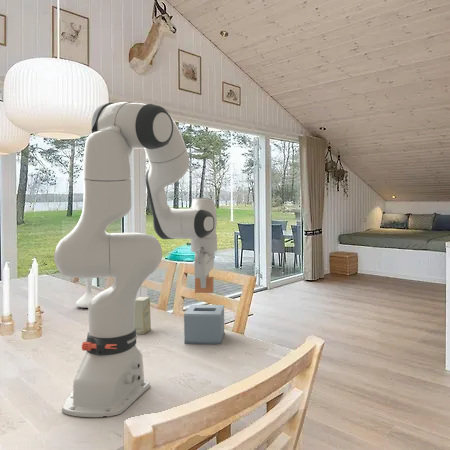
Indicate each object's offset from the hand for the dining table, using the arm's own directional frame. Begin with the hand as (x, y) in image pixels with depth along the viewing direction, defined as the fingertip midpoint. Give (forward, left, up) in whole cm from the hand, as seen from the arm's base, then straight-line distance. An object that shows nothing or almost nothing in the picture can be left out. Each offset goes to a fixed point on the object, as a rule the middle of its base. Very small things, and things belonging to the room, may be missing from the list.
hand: (204, 286), depth 139 cm
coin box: (0, 0, -18) cm, 18 cm away
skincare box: (+6, +24, -18) cm, 31 cm away
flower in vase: (+39, +59, -18) cm, 73 cm away
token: (0, 0, -2) cm, 2 cm away
